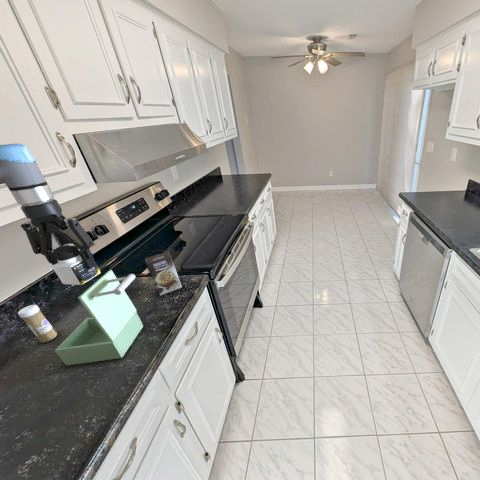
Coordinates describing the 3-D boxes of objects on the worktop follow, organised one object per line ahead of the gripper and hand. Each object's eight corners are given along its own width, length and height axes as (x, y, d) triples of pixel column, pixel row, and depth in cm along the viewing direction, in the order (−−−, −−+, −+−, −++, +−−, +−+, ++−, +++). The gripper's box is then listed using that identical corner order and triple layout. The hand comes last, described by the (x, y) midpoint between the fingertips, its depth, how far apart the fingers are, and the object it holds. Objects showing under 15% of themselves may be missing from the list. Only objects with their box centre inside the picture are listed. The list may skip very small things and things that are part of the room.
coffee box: (159, 296, 107) (145, 264, 100) (157, 289, 112) (144, 257, 105) (182, 287, 112) (170, 256, 104) (180, 281, 117) (168, 250, 109)
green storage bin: (66, 365, 79) (54, 350, 76) (95, 332, 91) (86, 318, 88) (122, 358, 80) (112, 342, 77) (143, 326, 92) (136, 311, 89)
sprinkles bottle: (54, 339, 89) (32, 310, 83) (37, 345, 87) (14, 315, 81) (59, 331, 93) (39, 302, 87) (43, 335, 91) (21, 307, 85)
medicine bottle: (81, 285, 80) (62, 252, 75) (62, 284, 81) (42, 252, 76) (101, 272, 86) (85, 241, 81) (83, 272, 87) (66, 241, 82)
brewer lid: (77, 297, 69) (110, 291, 69) (108, 270, 81) (136, 265, 81) (110, 342, 77) (140, 336, 77) (134, 311, 89) (159, 306, 89)
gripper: (87, 194, 76) (118, 259, 86) (9, 201, 74) (51, 266, 84) (68, 202, 69) (104, 271, 80) (-18, 210, 68) (31, 279, 78)
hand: (77, 268), depth 82 cm, fingers closed on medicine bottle, 8 cm apart
